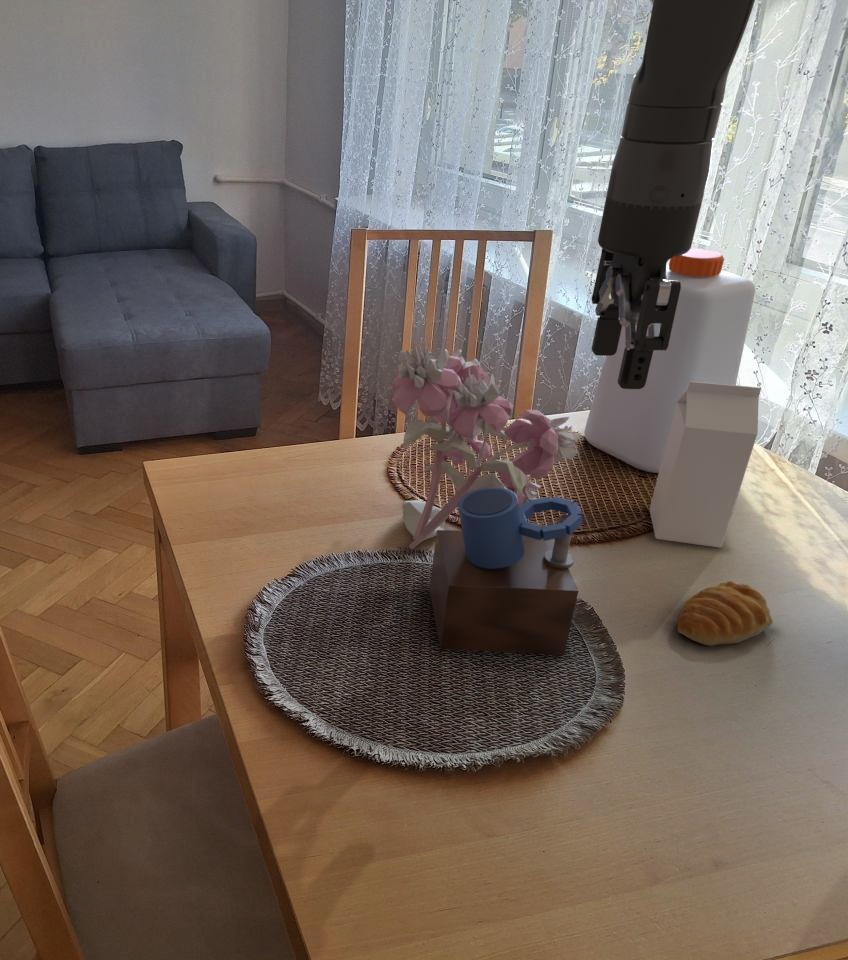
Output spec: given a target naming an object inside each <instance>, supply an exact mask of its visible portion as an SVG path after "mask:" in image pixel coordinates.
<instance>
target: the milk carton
mask: <svg viewBox="0 0 848 960" xmlns="http://www.w3.org/2000/svg"><path fill="white" fill-rule="evenodd" d="M761 391H762V388H761V387H759V386H747V385H737V384H736V385H726V384H715V383H704V382H693V381H690V382H689V385H688V389H687V391H686V392H685V393H684V394H683V396H682V397H681V398H680V399H679V400H678V402H677V405H676V409H675V412H674V416H673V420H672V424H671V428H670V432H669V436H668V439H667V443H666V447H665V451H664V455H663V459H662V462H661V466H660V470H659V473H657V474H658V475H657V479H656V482H655V486H654V490H653V494H652V498H651V502H650V505H649V512H650V518H651V523H652V528H653V533H654V538H655V539H656V540H661V541H670V542H677V543H683V544H691V545H698V546H704V547H711V548H718V549H719V548H722V546H723V544H724V542H725V537H726V534H727V532H728V528H729V525H730V521H731V518H732V516H733V512H734V510H735V506H736V503H737V501H738V500H737V499H738V497H739V493H740V490H741V487H742V484H743V481H744V478H745V474H746V472H747V471H746V470H747V468H748V464H749V461H750V459H751V455H752V453H753V448H754V446H755V442H756V439H757V436H758V433H759V432H758V431H759V403H760V402H759V397H760V394H761Z"/></svg>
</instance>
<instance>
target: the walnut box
mask: <svg viewBox="0 0 848 960" xmlns="http://www.w3.org/2000/svg"><path fill="white" fill-rule="evenodd" d="M568 517H569V515H568V514H561V515H559V518H558V521H557V522H558V523H557V524H559V523H562V522H563V521H564V520H565V519H567V518H568ZM572 535H573V533H572V534H571V535H569V534H567V537H562V538H556V539H550V540H544V539H543V538H542V539H541V540H537V539H534V538H530V537H527V536H524V535H523V539H524V546H525V553H524V555H523V557H522V558H521V559H520V560H519V561H518V562H516V563H514V564H512V565H510V566H507V567H503V568H497V569H488V568H482V567H478V566H476V565H474V564H472V563H471V562H470V561H469V560H468V558H467V555H466V549H465V543H464V538H463V532H462V530H452V529H451V530H447V529H445V530H437V533H436V536H435V544H434V551H433V559H432V565H431V566H432V567H431V575H430V583H429V595H430V600H431V605H432V610H433V611H432V612H433V615H434V621H435V626H436V632H437V637H438V644H439V647H440V650H456V651H475V652H477V651H478V652H495V653H512V654H513V653H514V654H531V655H533V654H534V655H553V656H564V655H565V654H566V653H565V652H566V648H567V644H568V639H569V635H570V631H571V626H572V622H573V617H574V612H575V608H576V605H577V599H578V595H579V589H578V586H577V585H576V582H575V579H574V578H573V575H572V573H571V571H570V568H571V567H573V565H574V563H575V558H574V556H573V555H572V554H570V553H569V550H570V549H569V548H570V545H571V539H572Z"/></svg>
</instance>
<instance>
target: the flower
mask: <svg viewBox="0 0 848 960" xmlns="http://www.w3.org/2000/svg"><path fill="white" fill-rule="evenodd" d="M427 347H428V346H427V343H426V340H422V341H420V342H418V343H413V349H412V354H411V353H410V352H409V351H408V349H406V351H405V350H404V349H402V350H400V351H399V354H398V357H397V358H398V359H397V360H398V363H397V368H398V373H397V375H396V376H395V378H394V379H393V381H392V383H391V388H392V390H396V391H394V395H393V398H392V402H393V404H394V405H395V407H396V408H397V409H398V410H399V412H401V413H402V414H404V415H407V414H408V413H409V411H410V410H411V409H412V407H413V406H414V404H415V402H416V400H417V404H418V408H419V411H420V412H421V414H422V415H423V416H424V417H425V416H426V417H429V418H430V419H431V420H432V422H429V423H427V422H426V421H425V420H423V419H416V420H415V419H414V420H410V421H409V422H408V426H407V428H406V430H405V431H404V435H403V445H402V447H403V449H402V450H403V452H404V451H405V450H406V449H407V448H408V446H410V444H411V443H413V442H416V441H417V440H418V439H420V438H421V437H422V436H423V435H426V436H427V437H429V438H430V439H431V440H433V441H435V442H436V443H433V444H432V445H431V446H430V447H428V449H427V450H426V451H425V452H426V453H427V452H429V451H432V450H435V453H434V459H433V463H432V464H428V465H427V467H426V468H425V469H424V470H423V471H422V473H425V472H427V471H431V476H430V477H431V478H430V482H429V483H430V484H429V490H428V495H427V498H426V502H424V501H422V500H420V499H414V500H413V499H411V500H405V501H403V503H402V519H403V522H404V526H405V528H406V530H407V531H408V532H409V534H410V535H411V536H412V540H413V541H412V542H411V543H409V545H408V548H410V550H413V549H415V548H416V547H417V546H418V545H419V544H421V543H422V542H424V541H425V540H428V539H431V538H434V537H436V533H437V530H446V520H447V519H448V518H449V517H450V516H451V514H452V513H453V512H454V511H455V510H456V509H457V508H458V503H459V501H460V499H461V498H462V497H463V496H464V495H466V494H468V493H469V492H472V491H474V490H477V489H481V488H488V487H499V488H505V489H508V490H510V491H512V492H513V493H515V494H516V496H517V498H518V504H519V507H520V506H521V505H523V504H524V503H525V502H530V500H534V499H539V498H538V497H537V496H538V493H537V492H538V490H539V489H541V485H540V484H537V483H534V482H532V481H530V478H533V479H534V480H540V479H542V478H545V477H547V476H548V475H549V473H550V471H551V470H552V468H553V467H554V465H555V463H556V462H561V461H565V459H567V460H573V458H575V456H576V455H577V454H578V453H579V451H578V450H577V448H578V449H579V447H578V446H577V445H576V444H577V443H578V441H579V439H581V438H583V435H581V433H576V432H575V433H573V432H569V431H571V430H572V429H573V425H570V426H568V425H565V426H564V427H561V428H560V426H561V425H563V424H566V423H567V421H568V420H569V419H570V416H564V417H557V418H553V419H550V418H548V417H547V416H546V415H545V414H543V413H542V412H541V411H540V410H538V409H524V410H523V411H522V412H521V413H520V414H519V417H520V418H521V419H519V418H516V419H515V420H513V422H512V423H510V424H509V425H508V426H507V427H506V428H505V426H506V425H507V423H508V421H509V419H510V417H512V415H513V414H512V413H513V411H514V407H515V406H514V404H513V403H512V402H511V401H510V400H508V399H506V398H504V397H503V396H501V394H500V386H499V385H497V384H496V382H495V376H494V374H493V373H491V374H490V376H489V375H488V374H487V372H485V370H484V369H483V367H482V366H481V364H480V362H479V360H478V359H477V358H474V359H472V360H471V361H466V360H465V358H464V357H463V356H462V355H461V353H462V351H463V350H462V349H459V348H453V351H452V354H451V355H449V353H450V351H449V350H447V349H446V348H444V349H443V350H442V351H441V353H440V355H439V356H438V357H437V358H433V352H432V351H431V350H428V348H427ZM460 355H461V356H460ZM522 419H523V420H522ZM525 420H526V421H525ZM527 421H529V422H527ZM481 434H482V439H483V440H481V439H477V438H478V436H479V435H481ZM488 435H490V436H493V437H497V438H500V439H501V440H502V443H503V445H504V446H506V444H507V440H510V441H511V442H513V444H512V445H509V446H507V447H506V448H504V449H502V450H500V451H498V452H497V453H496V454H494V455H493V456H491V455H492V447H491V446H490V444H489V443H487V439H488ZM446 439H448V440H446ZM445 440H446V441H445ZM470 447H471V448H470ZM524 447H525V448H527V449H526V450H524V451H522V452H520V453H518V454H516V455H515V456H514V457H513V459H512V460H509V459H499V458H500V457H501V456H503V455H504V454H506V453H507V452H509V451H513V450H516V449H517V450H518V449H519V448H524ZM573 447H574V448H573ZM575 448H576V449H575ZM476 454H477V455H478V457H476ZM448 459H449V460H450V461H451V462H452V463H453V464H454V465H463V464H464V463H466V467H467V469H466V475H465V474H464V473H462V472H461V471H460V470H458V469H457V468H456V467H454V466H453V465H451V464H450V462H449V463H448V462H447V461H448ZM482 460H483V461H484V462H483V463H482ZM485 460H486V461H485ZM471 469H472V470H473V472H472V473H471ZM482 472H489V473H486V474H481V473H482ZM495 473H497V474H498V475H499V477H500V478H499V477H498V476H497V475H496V474H495ZM442 474H444V475H446V476H447V478H449V481H450V482H451V483H452V485H453V486H454V487H455V489H456V492H455V493H454V494H453V496H452V497H451V498H450V499H449V500H448V501H447V503H446V504H445V505H444V506H443V507H442V508H440V507H437V506H434V504H435V500H436V496H437V493H438V490H439V489H438V488H439V485H440V481H441V476H442ZM531 488H532V489H534V490H532V489H531Z"/></svg>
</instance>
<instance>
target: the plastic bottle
mask: <svg viewBox="0 0 848 960" xmlns="http://www.w3.org/2000/svg"><path fill="white" fill-rule="evenodd" d="M724 263H725V257H724V255H723V254H722V253H721V252H718V251H716V250H711V249H706V248H700V247H699V248H696V247H691V248H690V250H689V251H688V252H687V253H685V254H683V255H680V256H674V257H672V258H671V259H669V263H668V264H666V265H667V267H666V276H667V281H680V283H681V289H680V294H679V298H678V303H677V308H676V312H675V317H674V321H673V326H672V331H671V335H670V340H669V345H668V348H667V350H654V351H653V355H652V359H651V363H650V367H649V371H648V376H647V380H646V384H645V386H644V387H643V388H642V389H623V388H621V387H620V386H619V384H618V377H619V372H620V368H621V363H622V359H623V354H624V350H625V347H626V345H625V342H626V339H625V327H624V326H622V329H621V334H620V338H619V343H618V348H617V352H616V353H615V354H614V355H612V356H605V359H604V361H603V364H602V367H601V371H600V375H599V379H598V382H597V385H596V386H597V387H596V389H595V392H594V396H593V399H592V402H591V406H590V409H589V413H588V417H587V421H586V423H585V426H584V431H583V434H584V438H585V439H586V441H587V442H588V443H589V444H590V445H591V446H592V447H594V448H596V449H598V450H600V451H602V452H604V453H605V454H608V455H609V456H612V457H614V458H615V459H617V460H619V461H621V462H623V463H625V464H627V465H629V466H631V467H633V468H635V469H636V470H637V469H638V470H640V471H643V472H647V473H652V474H653V473H654V474H659V470H660V466H661V462H662V459H663V455H664V451H665V447H666V443H667V439H668V436H669V432H670V428H671V424H672V420H673V416H674V412H675V409H676V405H677V402H678V400H679V399H680V398H681V397H682V396H683V394H684V393H685V392H686V391H687V389H688V385H689V382H690V381H693V382H704V383H715V384H726V385H737V381H738V376H739V371H740V367H741V362H742V358H743V351H744V348H745V343H746V338H747V332H748V328H749V322H750V319H751V314H752V308H753V304H754V299H755V295H756V286H755V283H754V282H753V281H752V280H750V279H749V278H747V277H744V276H741V275H737V274H735V273H732V272H728V271H724V270H722V269H723V265H724ZM636 328H637V326H636ZM660 328H661V323H660V324H659V333H660ZM646 336H648V329H647V334H646Z"/></svg>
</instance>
